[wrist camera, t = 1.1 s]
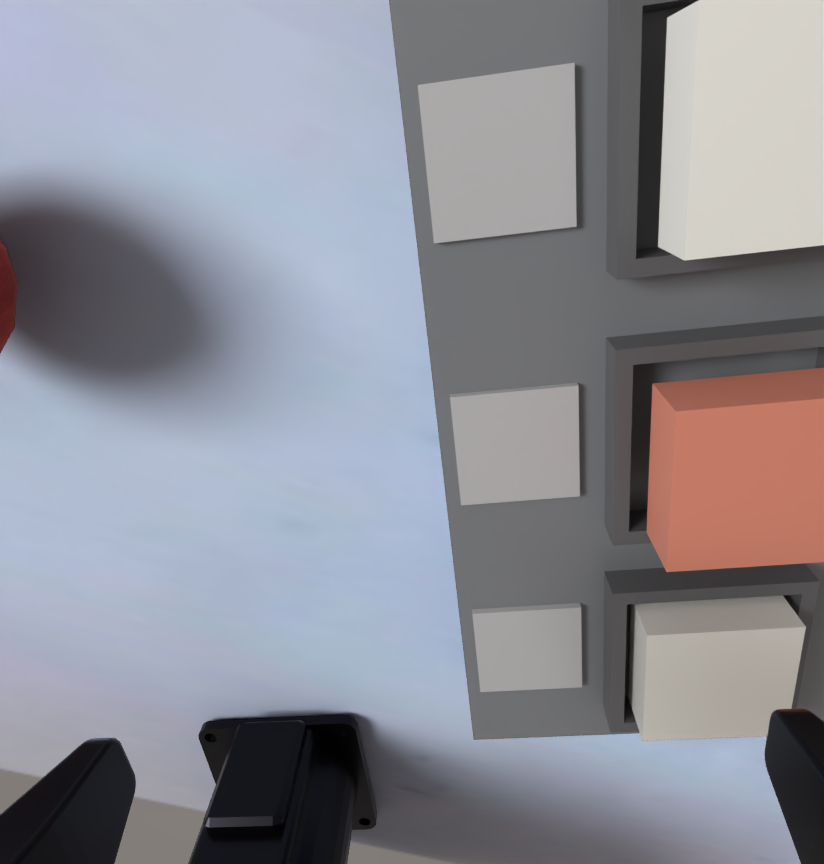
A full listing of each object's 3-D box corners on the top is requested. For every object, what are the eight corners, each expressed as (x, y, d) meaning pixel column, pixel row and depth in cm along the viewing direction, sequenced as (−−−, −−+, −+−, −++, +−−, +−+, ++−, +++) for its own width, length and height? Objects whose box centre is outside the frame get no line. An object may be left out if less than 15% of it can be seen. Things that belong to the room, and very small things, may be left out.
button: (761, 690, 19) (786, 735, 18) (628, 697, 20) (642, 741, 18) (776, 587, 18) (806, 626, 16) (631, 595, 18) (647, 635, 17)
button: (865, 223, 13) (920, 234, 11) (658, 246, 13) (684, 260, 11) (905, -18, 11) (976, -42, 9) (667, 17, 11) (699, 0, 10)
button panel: (800, 655, 23) (866, 752, 19) (470, 671, 24) (475, 766, 20) (935, -103, 14) (1109, -189, 10) (395, -17, 15) (378, -66, 11)
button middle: (814, 520, 15) (852, 559, 14) (646, 532, 16) (666, 571, 14) (840, 366, 14) (887, 393, 12) (652, 383, 14) (675, 411, 13)
